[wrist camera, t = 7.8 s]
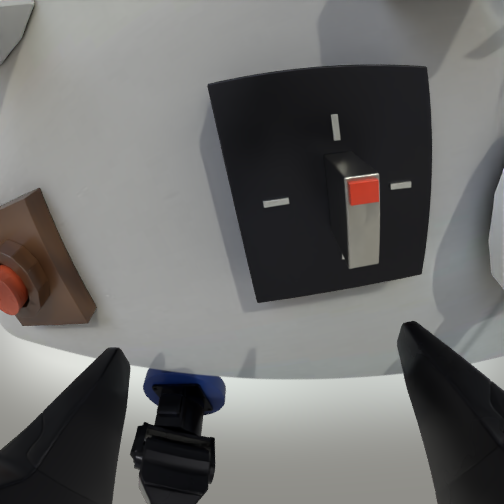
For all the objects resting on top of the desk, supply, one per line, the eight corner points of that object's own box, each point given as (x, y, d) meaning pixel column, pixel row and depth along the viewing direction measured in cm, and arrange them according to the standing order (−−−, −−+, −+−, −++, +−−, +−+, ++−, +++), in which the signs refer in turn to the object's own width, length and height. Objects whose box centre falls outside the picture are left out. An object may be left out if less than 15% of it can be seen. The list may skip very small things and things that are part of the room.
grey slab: (356, 226, 17) (381, 267, 14) (330, 230, 17) (349, 272, 14) (352, 151, 15) (381, 174, 11) (323, 154, 15) (345, 179, 11)
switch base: (406, 252, 22) (422, 275, 19) (256, 277, 23) (257, 305, 20) (403, 66, 15) (428, 66, 12) (214, 84, 16) (206, 84, 13)
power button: (36, 300, 20) (26, 314, 19) (11, 303, 20) (2, 316, 19) (13, 261, 18) (1, 273, 17) (-11, 267, 18) (-21, 279, 17)
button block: (97, 307, 25) (80, 338, 22) (31, 312, 26) (14, 337, 23) (40, 187, 19) (9, 209, 15) (-21, 216, 20) (-45, 236, 16)
